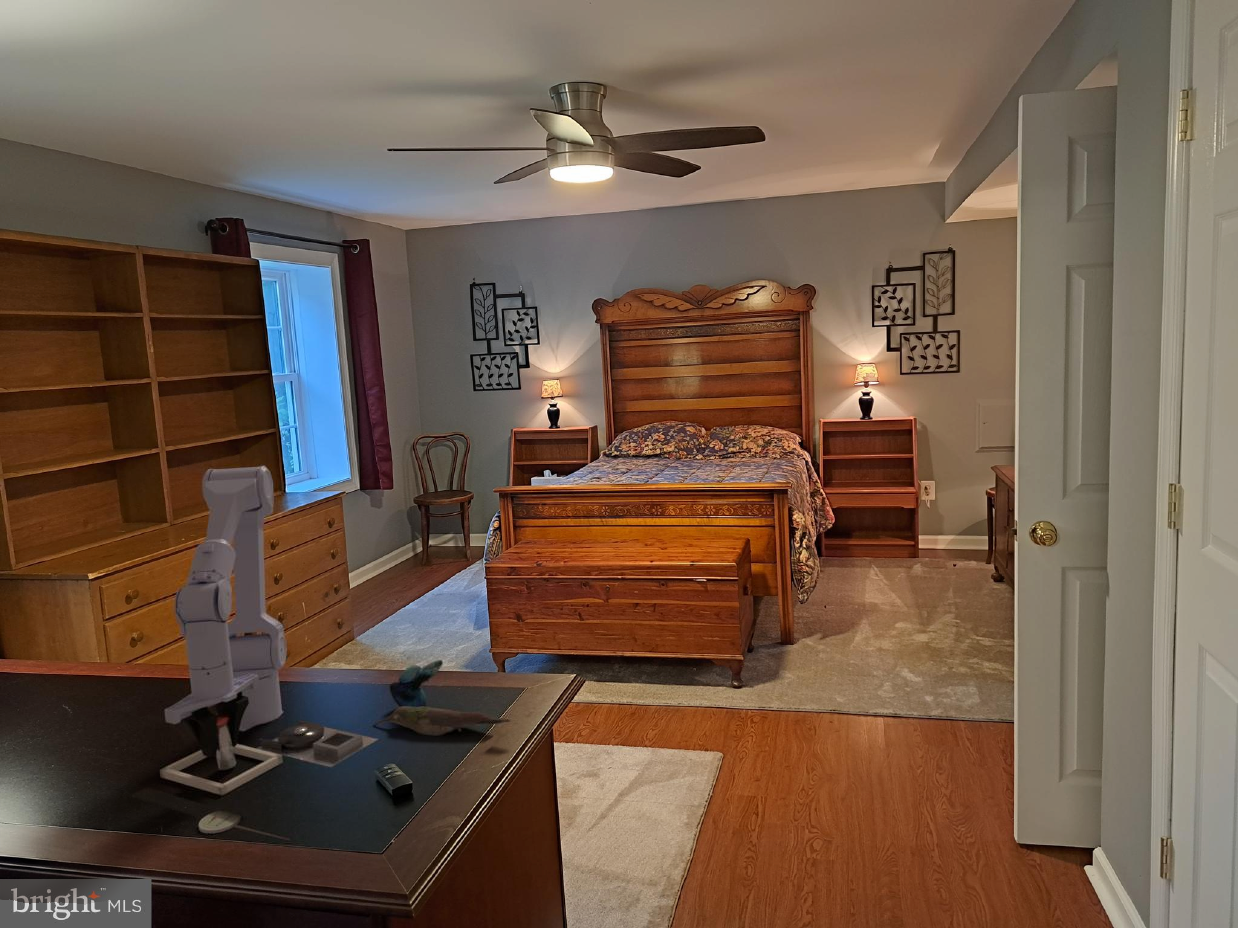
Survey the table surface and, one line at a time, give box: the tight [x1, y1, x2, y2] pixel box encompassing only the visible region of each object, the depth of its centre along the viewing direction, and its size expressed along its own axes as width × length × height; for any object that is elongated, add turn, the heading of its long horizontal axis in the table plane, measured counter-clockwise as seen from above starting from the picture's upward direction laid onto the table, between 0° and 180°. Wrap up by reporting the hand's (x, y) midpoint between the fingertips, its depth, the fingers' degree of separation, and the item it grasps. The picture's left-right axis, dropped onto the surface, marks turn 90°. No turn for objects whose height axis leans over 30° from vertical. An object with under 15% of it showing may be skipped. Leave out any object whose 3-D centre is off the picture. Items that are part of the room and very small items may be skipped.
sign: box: [198, 809, 292, 841], centre depth 116 cm, size 5×1×15 cm
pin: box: [215, 712, 237, 771], centre depth 130 cm, size 3×3×8 cm
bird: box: [371, 706, 511, 737], centre depth 141 cm, size 25×5×5 cm, turn 76°
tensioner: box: [255, 719, 379, 768], centre depth 138 cm, size 16×10×3 cm, turn 62°
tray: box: [159, 743, 284, 796], centre depth 131 cm, size 14×11×2 cm
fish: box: [389, 659, 444, 707], centre depth 149 cm, size 4×10×10 cm, turn 78°
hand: (220, 750), depth 130 cm, fingers closed on pin, 3 cm apart
